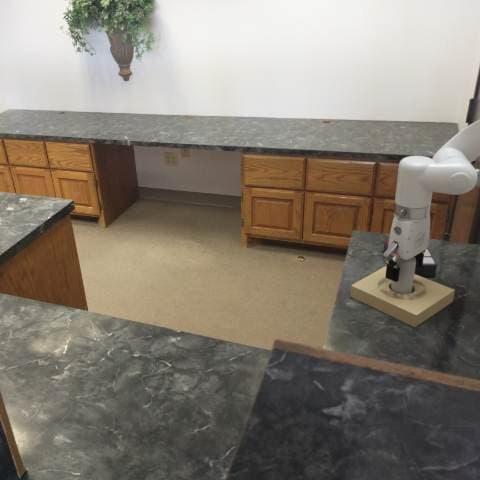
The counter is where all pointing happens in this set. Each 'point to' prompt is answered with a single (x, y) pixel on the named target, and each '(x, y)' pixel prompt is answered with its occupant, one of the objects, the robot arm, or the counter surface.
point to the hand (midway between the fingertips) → (403, 272)
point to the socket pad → (403, 297)
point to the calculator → (428, 264)
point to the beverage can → (405, 276)
